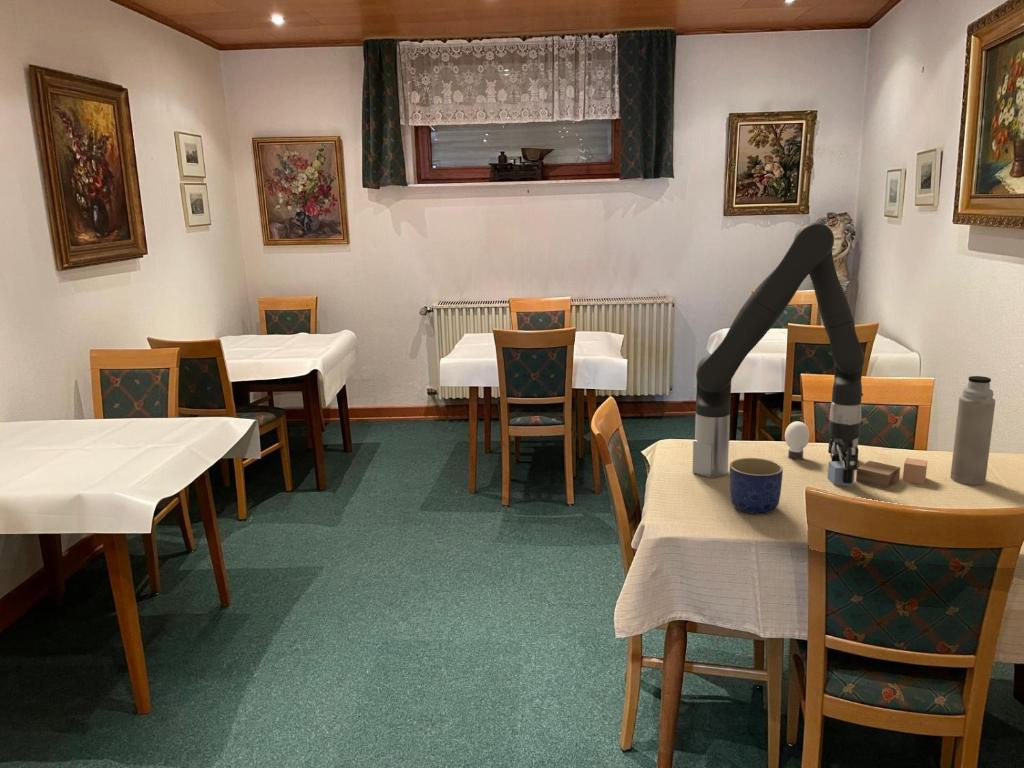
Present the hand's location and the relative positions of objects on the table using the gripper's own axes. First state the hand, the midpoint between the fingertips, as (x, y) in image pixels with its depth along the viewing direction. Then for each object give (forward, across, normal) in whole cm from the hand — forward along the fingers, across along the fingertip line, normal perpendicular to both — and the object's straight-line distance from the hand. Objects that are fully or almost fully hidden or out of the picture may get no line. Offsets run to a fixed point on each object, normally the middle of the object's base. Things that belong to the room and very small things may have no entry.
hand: (841, 477), depth 197 cm
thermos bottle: (+2, -1, +33) cm, 33 cm away
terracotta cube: (+2, -1, +20) cm, 20 cm away
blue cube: (+2, 0, 0) cm, 2 cm away
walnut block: (+2, 0, +10) cm, 10 cm away
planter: (+2, +17, -27) cm, 32 cm away
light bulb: (+2, -20, -6) cm, 21 cm away
